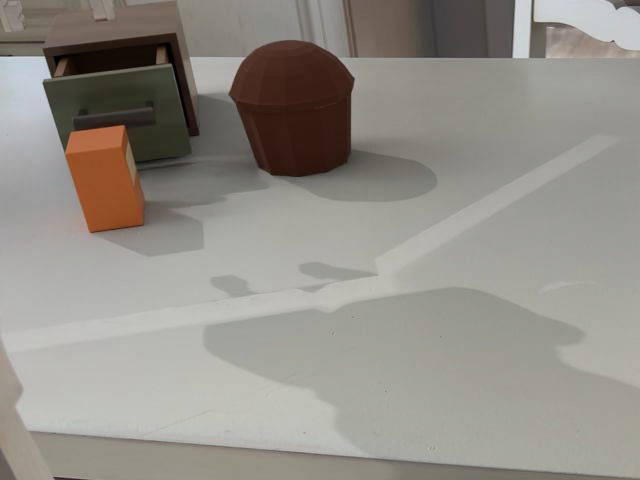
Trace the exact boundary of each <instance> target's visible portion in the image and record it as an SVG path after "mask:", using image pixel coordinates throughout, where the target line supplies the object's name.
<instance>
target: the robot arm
mask: <svg viewBox="0 0 640 480" xmlns="http://www.w3.org/2000/svg"><path fill="white" fill-rule="evenodd" d="M112 1H113V0H88V2H89V5H90V8H91V10H93V17H94V20H95V22H97V21H108V20H114V19H115V13H114V9H113V7H114V5H113V2H112ZM0 22H1V25H2V27H3V30H4V31H5V33H11V32H19V31H26V30H27V27H28V24H27V21H26V17H25V15H24V14H23V7H22V3H21V1H20V0H11V1H9V0H0Z"/></svg>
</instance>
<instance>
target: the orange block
mask: <svg viewBox="0 0 640 480" xmlns="http://www.w3.org/2000/svg"><path fill="white" fill-rule="evenodd" d="M64 157H65V161H66V163H67V166H68V170H69V173H70V177H71V179H72V182H73V186H74V188H75V191H76V195H77V198H78V202H79V204H80V207H81V210H82V214H83V216H84V217H83V218H84V220H85V223H86V226H87V230H88V233H95V232H102V231H108V230H116V229H123V228H129V227H136V226H143V225H144V219H145V208H146V207H145V206H146V197H145V193H144V189H143V187H142V183H141V179H140V176H139V172H138V169H137V165H136V162H135V161H134V158H133V154H132V150H131V147H130V143H129V139H128V136H127V132H126V128H125V126H124V125H122V126H114V127H106V128H99V129H91V130H83V131H76V132H71V134H70V137H69V141H68V145H67V148H66V152H65V153H64Z"/></svg>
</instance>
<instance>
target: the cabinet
mask: <svg viewBox="0 0 640 480" xmlns="http://www.w3.org/2000/svg"><path fill="white" fill-rule="evenodd" d="M113 9H114V13H115V19H114V20H108V21H97V22H95V20H94V17H93V9H87V10H86V9H85V10H78V11H69V12H60V13H59V12H58V13H56V16H55V18H54V20H53V22H52V25H51V28H50V30H49V32H48V34H47V37H46V39H45V41H44V43H43V46H42V48H41V49H42V53H43V56H44V59H45V62H46V65H47V69H48V72H49V75H50V78H54V75H55V72H56V70H57V67H58V64H59V61H60V59H61V56H62V55H68V54H76V53H84V52H93V51H101V50H109V49H118V48H126V47H135V46H143V45H151V44H160V43H168V44H169V48H170V53H171V57H172V61H173V65H174V69H175V74H176V78H177V82H178V86H179V91H180V95H181V99H182V103H183V108H184V118H185V122H186V126H187V130H188V134H189V137H193V136H199V135H200V134H201V133H200V132H201V131H200V113H199V92H198V89H197V84H196V80H195V75H194V70H193V67H192V62H191V58H190V53H189V48H188V43H187V40H186V35H185V30H184V27H183V22H182V17H181V14H180V13H181V12H180V9H179V5H178V1H177V0H166V1H157V2H147V3H139V4H129V5H121V6H113Z"/></svg>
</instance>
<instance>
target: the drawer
mask: <svg viewBox="0 0 640 480" xmlns="http://www.w3.org/2000/svg"><path fill="white" fill-rule="evenodd" d="M41 85H42V87H43V91H44V93H45V97H46V99H47V102H48V106H49V109H50V112H51V116H52V118H53V122H54V125H55V127H56V131H57V134H58V137H59V140H60V143H61V147H62V150H63V153H64V154H65V152H66V148H67V145H68V141H69V137H70V134H71V132H76V131H83V130H91V129H99V128H106V127H114V126H122V125H124V126H125V128H126V132H127V136H128V139H129V143H130V147H131V150H132V154H133V158H134V161H135V163H137V162H145V161H153V160H159V159H166V158H167V159H168V158H173V157H182V156H188V155H189V156H190V155H193V148H192V144H191V139H190V136H189V134H188V130H187V126H186V122H185V118H184V108H183V103H182V99H181V95H180V91H179V86H178V82H177V78H176V74H175V69H174V65H173V61H172V57H171V53H170V48H169V44H168V43H160V44H151V45H143V46H135V47H126V48H118V49H109V50H101V51H93V52H84V53H76V54H68V55H62V56H61V59H60V61H59V64H58V67H57V70H56V72H55V75H54V78H51V77H50V78H44V79H43V80H42V84H41Z"/></svg>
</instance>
